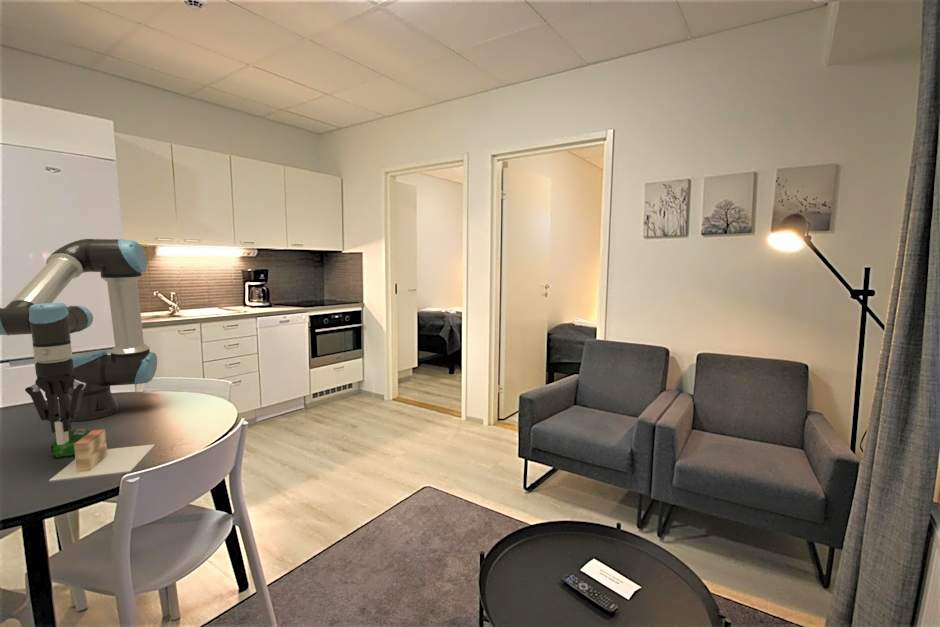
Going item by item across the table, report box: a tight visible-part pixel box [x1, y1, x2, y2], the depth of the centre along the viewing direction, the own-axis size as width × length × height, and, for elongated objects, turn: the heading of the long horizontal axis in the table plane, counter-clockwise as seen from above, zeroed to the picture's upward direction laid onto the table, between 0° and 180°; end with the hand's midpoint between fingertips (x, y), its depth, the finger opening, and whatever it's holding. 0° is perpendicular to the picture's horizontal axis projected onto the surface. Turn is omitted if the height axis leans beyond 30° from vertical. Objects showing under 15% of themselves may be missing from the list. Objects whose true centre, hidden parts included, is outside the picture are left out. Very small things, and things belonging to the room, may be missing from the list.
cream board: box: [48, 444, 156, 483], centre depth 126 cm, size 18×18×1 cm
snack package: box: [50, 428, 90, 458], centre depth 133 cm, size 7×16×5 cm, turn 30°
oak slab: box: [74, 428, 108, 472], centre depth 124 cm, size 10×3×8 cm, turn 18°
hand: (63, 442), depth 122 cm, fingers closed
